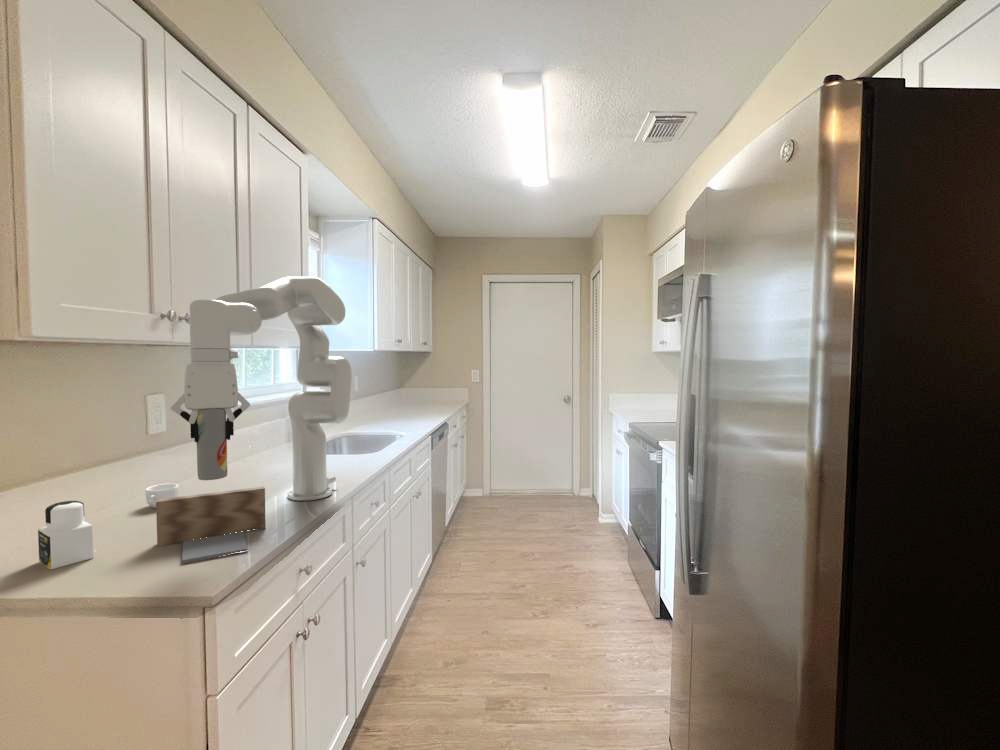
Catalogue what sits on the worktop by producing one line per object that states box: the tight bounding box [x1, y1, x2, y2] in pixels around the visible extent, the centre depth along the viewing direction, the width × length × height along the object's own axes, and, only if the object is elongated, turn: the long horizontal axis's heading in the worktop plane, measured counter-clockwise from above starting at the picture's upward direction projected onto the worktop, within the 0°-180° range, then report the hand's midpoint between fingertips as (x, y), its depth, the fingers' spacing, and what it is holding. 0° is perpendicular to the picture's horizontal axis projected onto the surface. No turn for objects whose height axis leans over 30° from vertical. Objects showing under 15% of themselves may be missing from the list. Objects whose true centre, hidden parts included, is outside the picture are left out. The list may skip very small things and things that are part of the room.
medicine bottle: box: [37, 500, 95, 571], centre depth 103 cm, size 7×7×12 cm
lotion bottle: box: [196, 409, 228, 481], centre depth 109 cm, size 6×6×20 cm
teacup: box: [145, 483, 180, 509], centre depth 139 cm, size 10×8×5 cm
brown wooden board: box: [155, 486, 266, 547], centre depth 117 cm, size 22×2×10 cm, turn 121°
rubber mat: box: [181, 532, 249, 565], centre depth 110 cm, size 12×12×1 cm
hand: (212, 439), depth 109 cm, fingers closed on lotion bottle, 5 cm apart
